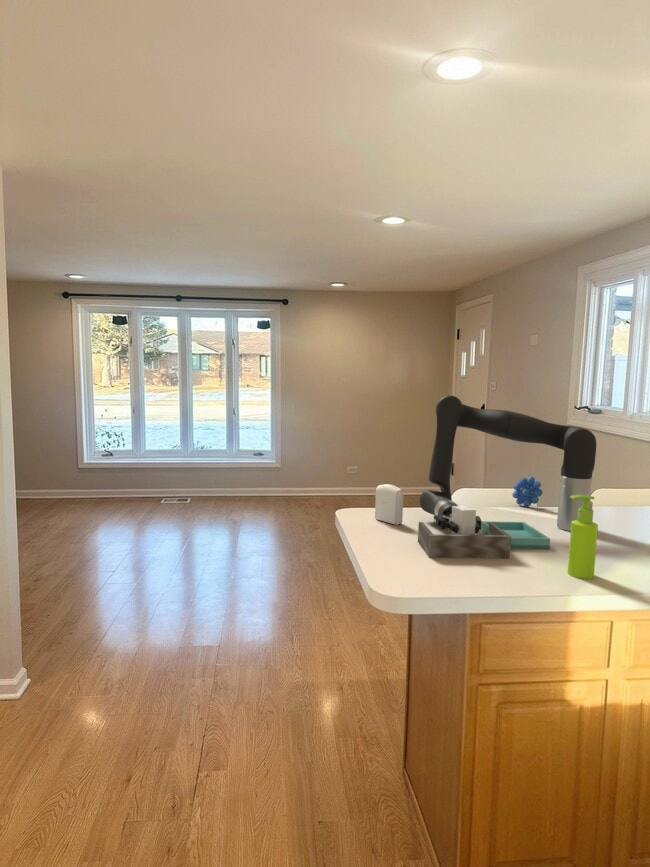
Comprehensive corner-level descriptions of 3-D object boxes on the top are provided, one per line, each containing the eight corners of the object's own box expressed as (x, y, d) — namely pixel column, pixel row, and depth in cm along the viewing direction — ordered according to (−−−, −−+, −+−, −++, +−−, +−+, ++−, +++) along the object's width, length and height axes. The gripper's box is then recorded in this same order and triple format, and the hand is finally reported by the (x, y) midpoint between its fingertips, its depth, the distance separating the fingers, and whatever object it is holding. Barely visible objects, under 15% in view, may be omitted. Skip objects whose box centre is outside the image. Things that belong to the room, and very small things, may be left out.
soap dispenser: (559, 570, 135) (565, 492, 133) (585, 570, 136) (591, 493, 134) (571, 579, 130) (578, 498, 128) (598, 578, 130) (605, 498, 128)
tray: (523, 531, 171) (524, 521, 170) (549, 548, 153) (550, 538, 153) (480, 530, 170) (480, 521, 170) (501, 548, 152) (502, 538, 152)
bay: (491, 542, 157) (493, 523, 156) (509, 558, 144) (511, 536, 143) (417, 541, 156) (418, 521, 155) (428, 557, 142) (430, 535, 142)
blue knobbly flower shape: (546, 508, 203) (548, 477, 202) (537, 510, 199) (540, 479, 198) (517, 502, 212) (519, 472, 211) (508, 504, 207) (511, 474, 206)
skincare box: (475, 552, 147) (478, 509, 146) (461, 554, 146) (463, 510, 145) (463, 546, 153) (465, 504, 152) (449, 547, 152) (451, 505, 151)
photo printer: (372, 519, 180) (374, 483, 179) (381, 517, 183) (383, 481, 182) (395, 526, 172) (396, 488, 171) (404, 524, 175) (405, 486, 174)
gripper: (426, 501, 162) (441, 515, 146) (473, 502, 163) (493, 516, 146) (425, 525, 163) (440, 542, 146) (471, 526, 164) (491, 543, 147)
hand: (466, 529), depth 146 cm, fingers closed on skincare box, 5 cm apart
